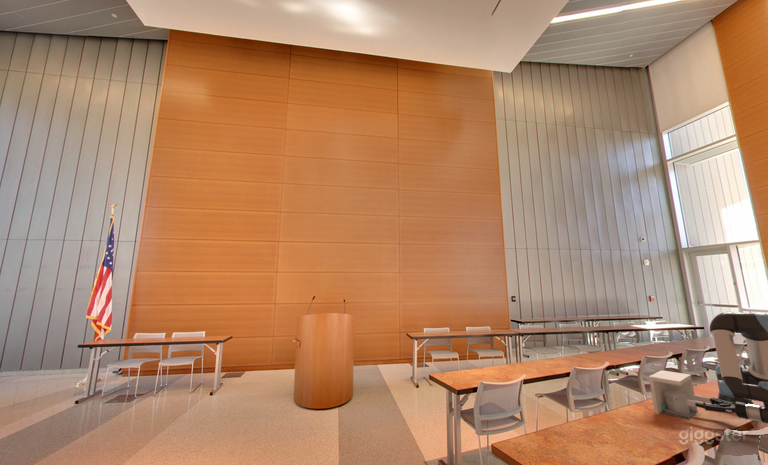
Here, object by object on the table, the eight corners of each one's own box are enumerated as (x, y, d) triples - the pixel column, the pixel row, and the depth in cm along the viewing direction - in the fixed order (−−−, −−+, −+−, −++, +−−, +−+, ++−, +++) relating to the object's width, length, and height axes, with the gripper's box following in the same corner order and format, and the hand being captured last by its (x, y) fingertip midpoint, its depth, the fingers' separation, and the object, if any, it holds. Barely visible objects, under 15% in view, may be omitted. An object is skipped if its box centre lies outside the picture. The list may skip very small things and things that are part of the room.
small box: (680, 410, 179) (677, 390, 181) (690, 413, 174) (686, 393, 176) (667, 410, 179) (663, 390, 181) (676, 413, 174) (672, 393, 176)
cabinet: (697, 411, 179) (690, 374, 182) (687, 421, 165) (679, 381, 169) (667, 404, 189) (661, 370, 193) (655, 413, 176) (648, 376, 180)
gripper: (745, 425, 148) (686, 412, 165) (753, 413, 162) (698, 402, 179) (741, 408, 150) (683, 397, 167) (750, 398, 163) (695, 388, 181)
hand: (690, 399), depth 173 cm, fingers open, 13 cm apart
